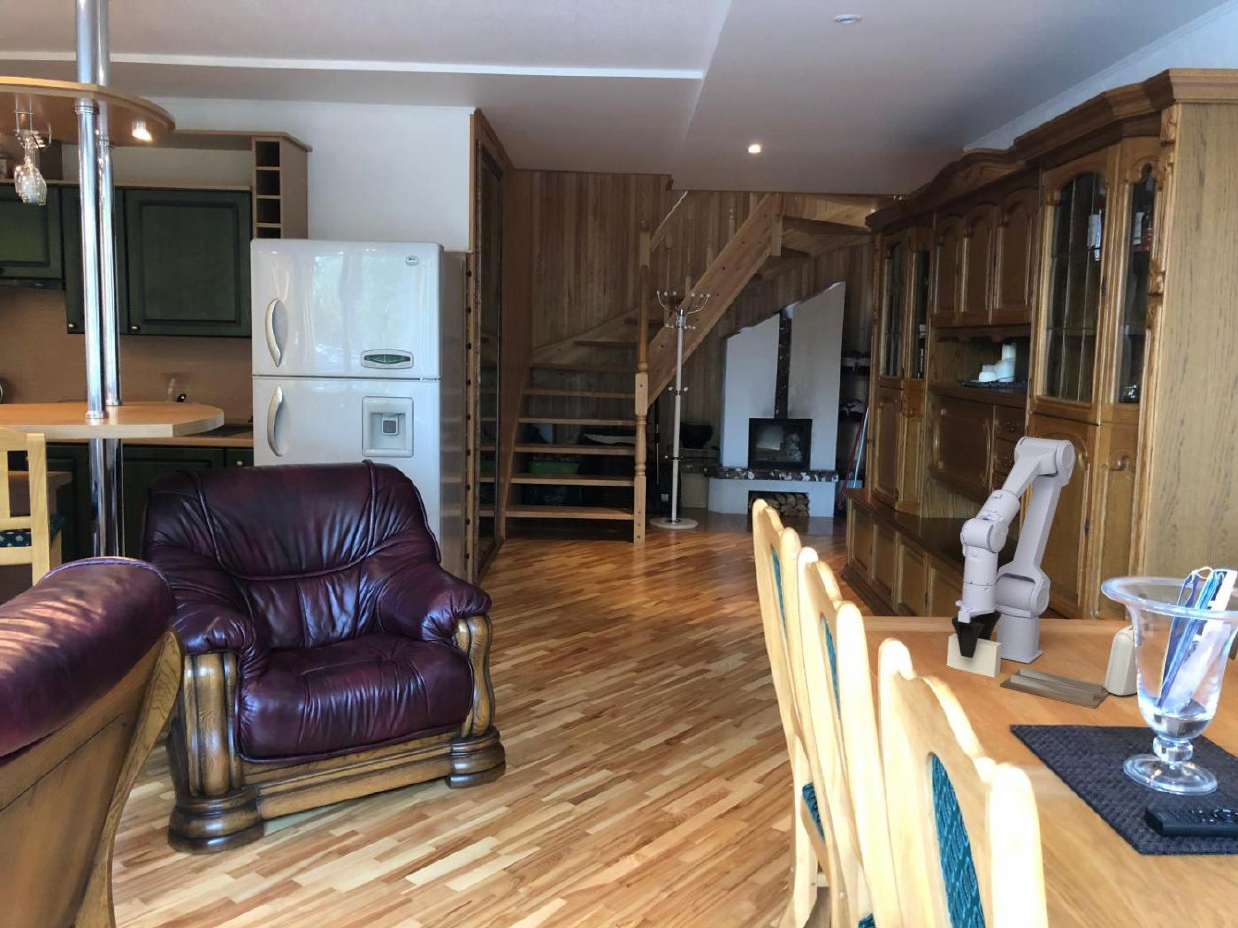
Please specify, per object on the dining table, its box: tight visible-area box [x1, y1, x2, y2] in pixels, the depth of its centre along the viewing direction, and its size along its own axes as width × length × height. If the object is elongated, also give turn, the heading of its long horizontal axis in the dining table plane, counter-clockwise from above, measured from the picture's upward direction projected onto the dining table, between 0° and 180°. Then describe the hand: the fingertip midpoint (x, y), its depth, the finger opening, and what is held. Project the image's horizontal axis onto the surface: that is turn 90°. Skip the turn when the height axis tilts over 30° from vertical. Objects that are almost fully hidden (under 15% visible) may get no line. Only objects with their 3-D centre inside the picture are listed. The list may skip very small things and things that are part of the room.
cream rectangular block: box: [946, 633, 1002, 678], centre depth 186 cm, size 3×9×6 cm, turn 51°
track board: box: [999, 667, 1111, 710], centre depth 177 cm, size 12×16×2 cm
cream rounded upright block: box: [1104, 624, 1136, 696], centre depth 176 cm, size 10×4×12 cm, turn 123°
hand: (974, 652), depth 186 cm, fingers open, 7 cm apart
